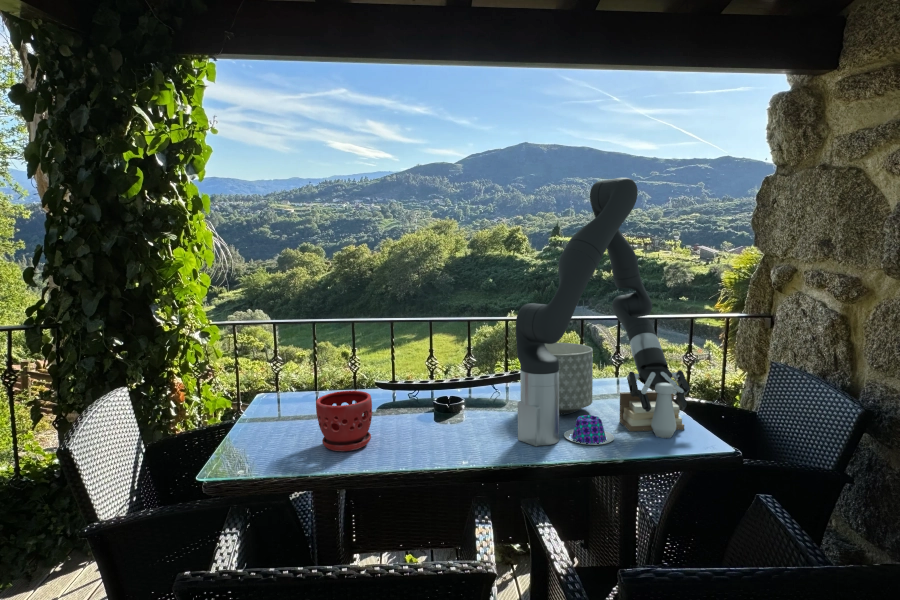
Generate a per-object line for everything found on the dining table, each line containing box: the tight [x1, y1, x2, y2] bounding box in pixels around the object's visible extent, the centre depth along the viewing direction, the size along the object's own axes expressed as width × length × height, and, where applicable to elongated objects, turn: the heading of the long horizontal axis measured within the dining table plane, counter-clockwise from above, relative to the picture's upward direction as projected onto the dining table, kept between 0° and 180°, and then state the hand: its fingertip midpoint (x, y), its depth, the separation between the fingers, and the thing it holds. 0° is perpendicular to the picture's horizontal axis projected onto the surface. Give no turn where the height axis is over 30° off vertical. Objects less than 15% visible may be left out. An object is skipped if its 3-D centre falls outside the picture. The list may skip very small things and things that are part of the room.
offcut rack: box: [619, 391, 685, 432], centre depth 143 cm, size 8×14×8 cm, turn 92°
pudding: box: [563, 414, 615, 446], centre depth 135 cm, size 12×12×5 cm
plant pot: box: [315, 390, 373, 452], centre depth 133 cm, size 13×13×12 cm
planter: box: [545, 342, 594, 416], centre depth 158 cm, size 19×19×18 cm
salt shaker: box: [651, 383, 677, 439], centre depth 136 cm, size 6×6×13 cm
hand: (666, 409), depth 135 cm, fingers open, 8 cm apart
